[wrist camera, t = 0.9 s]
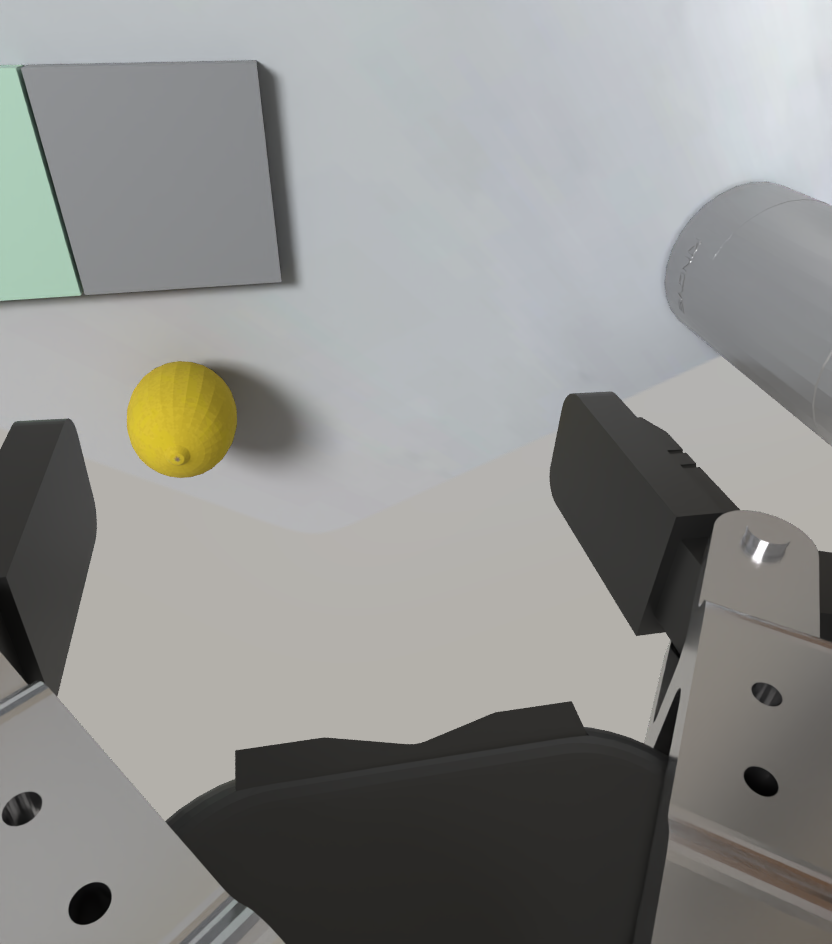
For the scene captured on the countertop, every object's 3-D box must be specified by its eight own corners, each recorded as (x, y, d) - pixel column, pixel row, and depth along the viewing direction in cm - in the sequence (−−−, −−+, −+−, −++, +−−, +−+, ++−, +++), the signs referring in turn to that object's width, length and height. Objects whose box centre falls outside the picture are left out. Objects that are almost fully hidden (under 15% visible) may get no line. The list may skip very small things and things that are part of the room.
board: (256, 60, 32) (256, 63, 31) (280, 274, 38) (281, 282, 37) (-230, 69, 29) (-246, 73, 28) (-123, 300, 35) (-134, 309, 34)
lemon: (251, 409, 42) (251, 487, 36) (162, 434, 42) (145, 517, 36) (217, 326, 39) (210, 396, 33) (120, 353, 39) (94, 429, 33)
